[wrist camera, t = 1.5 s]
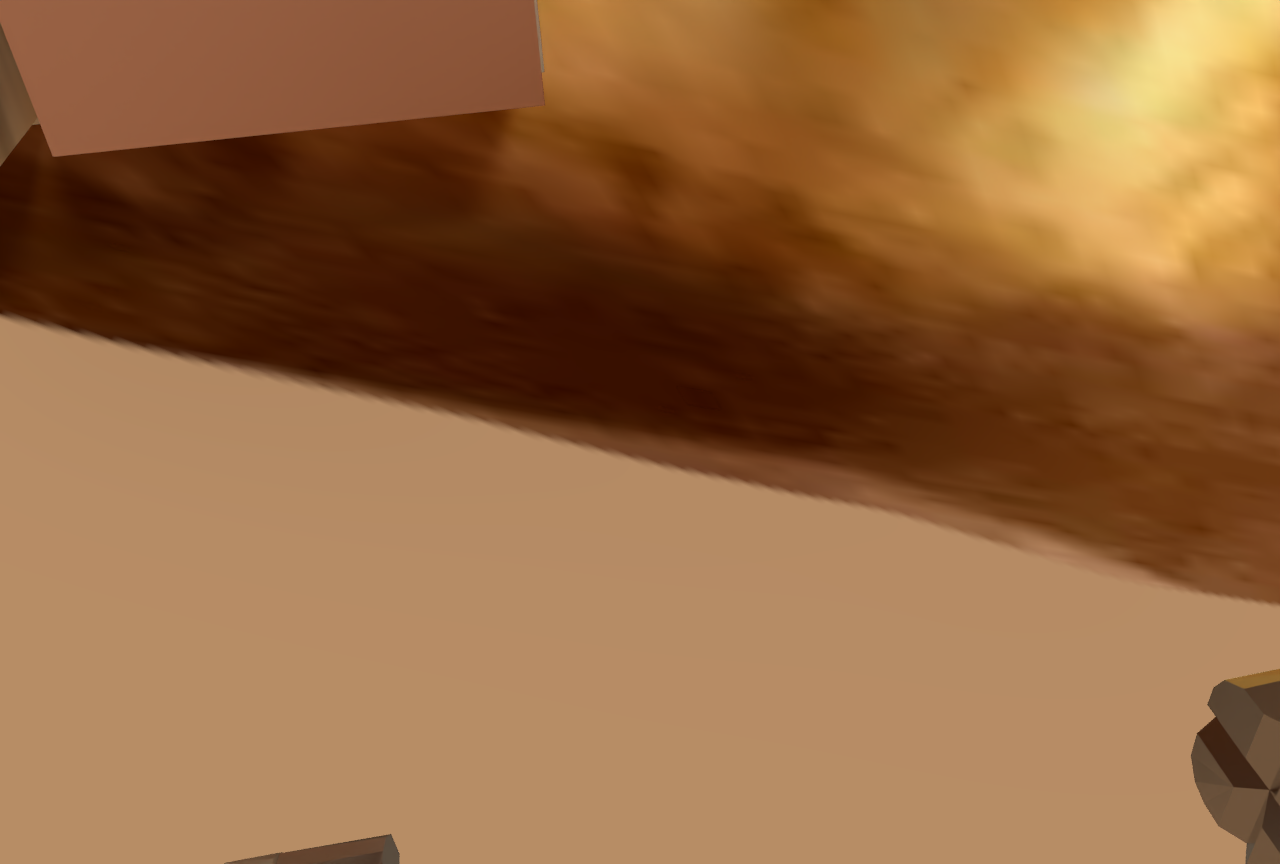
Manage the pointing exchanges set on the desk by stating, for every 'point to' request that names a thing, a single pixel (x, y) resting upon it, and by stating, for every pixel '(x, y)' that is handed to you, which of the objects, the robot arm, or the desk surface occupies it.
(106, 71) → the lintel
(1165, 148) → the desk surface
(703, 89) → the desk surface
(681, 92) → the desk surface
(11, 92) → the pillar
